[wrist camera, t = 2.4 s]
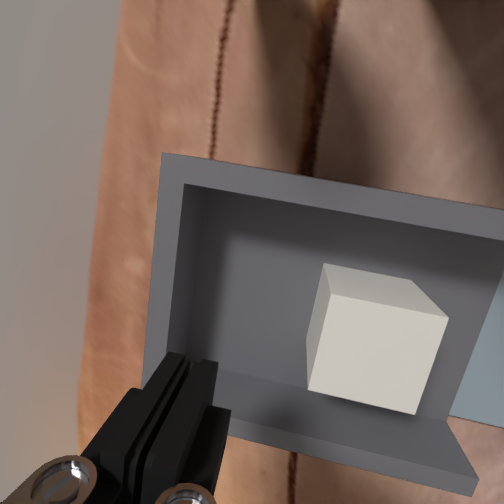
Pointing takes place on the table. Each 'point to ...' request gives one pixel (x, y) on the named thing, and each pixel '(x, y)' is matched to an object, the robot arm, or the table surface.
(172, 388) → the robot arm
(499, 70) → the table surface
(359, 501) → the table surface
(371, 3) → the table surface
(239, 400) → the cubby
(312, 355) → the cream block
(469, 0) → the table surface
